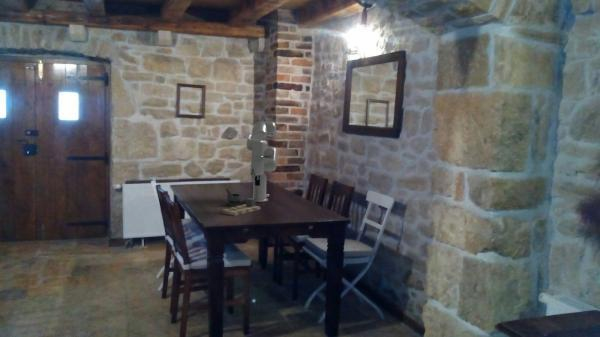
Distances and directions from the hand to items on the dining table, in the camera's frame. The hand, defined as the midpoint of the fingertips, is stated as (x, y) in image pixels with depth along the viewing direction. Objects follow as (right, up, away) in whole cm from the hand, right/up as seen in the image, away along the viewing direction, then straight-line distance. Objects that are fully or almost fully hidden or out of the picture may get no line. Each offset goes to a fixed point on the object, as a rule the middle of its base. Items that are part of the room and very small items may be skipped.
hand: (257, 185), depth 329 cm
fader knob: (-4, -13, -4) cm, 14 cm away
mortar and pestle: (-18, -14, +9) cm, 24 cm away
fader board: (-10, -16, -12) cm, 22 cm away
